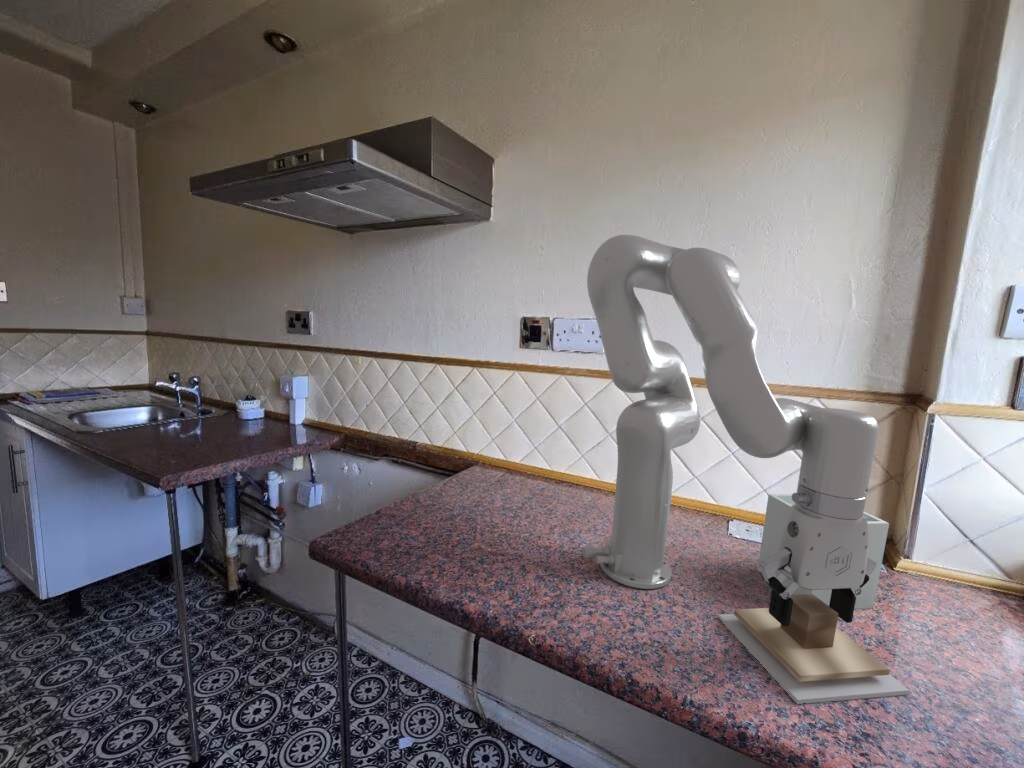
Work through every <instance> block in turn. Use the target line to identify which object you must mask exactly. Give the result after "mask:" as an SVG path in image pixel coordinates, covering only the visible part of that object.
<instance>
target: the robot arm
mask: <svg viewBox="0 0 1024 768" xmlns="http://www.w3.org/2000/svg"><path fill="white" fill-rule="evenodd" d="M740 281H741V275H740V269H739V268H738V266H737V264H736V263H735V261H734V260H733V259H732V258H730V257H728V256H726V255H725V254H722V253H719V252H716V251H714V250H711V249H709V248H704V247H690V248H687V249H685V248H681V247H676V246H672V245H671V246H670V245H666V244H663V243H660V242H657V241H653V240H650V239H647V238H645V237H641V236H638V235H633V234H618V235H615V236H612V237H610V238H608V239H606V240H605V241H604V242H602V244H601V245H599V247H598V248H597V250H596V251H595V253H594V255H593V256H592V258H591V261H590V262H589V266H588V270H587V278H586V282H587V283H586V285H587V286H586V287H587V293H588V297H589V301H590V305H591V307H592V311H593V314H594V316H595V319H596V323H597V327H598V329H599V335H600V339H601V343H602V346H603V351H604V354H605V357H606V361H607V367H608V371H609V374H610V377H611V380H612V382H613V384H614V385H615V387H617V389H619V391H622V392H623V393H627V394H628V393H629V394H640V393H643V394H644V398H645V399H640V400H636V401H635V402H632V403H630V404H629V405H627V406H626V407H625V408H624V409H623V410H622V411H621V413H620V415H619V416H618V420H617V421H616V427H615V432H616V434H615V435H616V446H617V447H616V448H617V469H616V471H617V472H616V482H615V493H614V503H613V515H612V524H611V525H612V526H611V533H610V539H605V541H604V542H605V543H604V544H601V545H599V546H598V547H596V546H585V547H584V549H583V554H584V558H585V559H594V561H595V564H596V565H599V566H600V568H601V570H602V571H603V572H604V574H605V575H606V576H608V577H609V578H610V579H612V580H613V581H615V582H618V583H619V584H621V585H624V586H627V587H631V588H634V589H644V590H655V589H658V588H659V589H660V588H662V587H665V586H666V585H668V584H669V583H670V582H671V579H672V572H673V571H672V567H671V566H670V565H669V563H668V562H666V560H665V554H666V552H665V551H666V545H667V536H668V526H669V518H670V510H671V500H672V490H673V481H674V480H673V479H674V476H673V473H674V472H673V471H674V470H673V464H672V458H671V457H672V456H671V453H672V452H671V451H672V450H673V449H675V448H678V447H682V446H684V445H686V444H688V443H690V442H691V441H692V440H694V439H695V437H696V436H697V434H698V433H699V429H700V426H701V417H700V411H699V407H698V404H697V400H696V397H695V394H694V389H693V385H692V383H691V379H690V375H689V371H688V369H687V366H686V363H685V362H686V361H685V360H684V358H683V356H682V354H681V353H680V352H679V350H678V349H677V348H676V347H675V346H673V345H672V344H671V343H669V342H666V341H664V340H663V341H662V340H658V339H657V340H656V339H655V340H654V338H653V336H652V333H651V331H650V330H651V329H650V327H649V324H648V320H647V315H646V312H645V310H644V308H643V305H642V304H641V303H640V301H639V299H638V298H637V296H636V294H635V291H634V288H636V289H641V290H648V291H651V292H657V293H662V294H665V295H668V296H672V298H673V300H674V301H675V304H676V306H677V307H678V309H679V311H680V313H681V314H682V316H683V318H684V320H685V322H686V324H687V326H688V328H689V330H690V332H691V334H692V336H693V338H694V340H695V342H696V343H697V346H698V347H699V350H700V352H701V356H702V357H701V360H702V363H701V364H702V368H703V373H704V379H705V384H706V389H707V393H708V394H709V397H710V400H711V402H712V405H713V407H714V409H715V411H716V412H717V415H718V416H719V419H720V420H721V422H722V424H723V426H724V429H725V430H726V432H727V434H728V435H729V436H730V438H731V440H732V441H733V442H734V443H735V445H736V446H737V447H738V448H739V449H740V450H742V451H743V452H745V453H746V454H747V455H749V456H751V457H755V458H760V459H771V458H775V457H778V456H781V455H782V454H785V453H787V452H790V451H791V452H792V451H801V452H802V454H801V455H802V456H801V462H800V470H799V475H798V482H797V489H796V492H793V493H791V494H792V500H793V502H795V505H792V507H791V509H790V511H789V514H788V517H787V519H786V522H785V525H784V529H783V532H782V536H781V540H780V545H779V550H778V552H777V553H775V554H773V555H771V556H769V557H767V558H766V559H764V560H762V561H760V562H759V561H758V563H759V567H760V570H761V573H762V574H761V573H760V574H761V575H762V579H763V581H764V582H765V583H766V584H767V586H768V587H769V588H770V589H771V592H770V600H769V605H768V606H769V607H768V608H769V613H770V614H771V615H772V616H773V617H774V618H775V619H776V620H777V621H778V622H779V623H781V624H782V625H783V626H789V624H790V618H791V612H792V606H793V600H792V599H791V598H790V596H791V595H792V594H793V593H794V592H795V590H796V589H797V588H798V587H799V586H800V587H801V588H803V589H806V590H823V589H832V592H831V598H830V603H829V607H830V608H832V609H833V610H834V611H836V612H837V613H838V618H840V619H841V620H842V621H843V622H845V623H846V624H848V623H852V622H853V617H854V611H855V609H854V607H855V602H856V597H855V596H859V595H860V594H861V592H862V590H861V588H862V587H863V586H864V585H865V584H866V583H867V582H868V581H869V575H871V573H872V572H873V570H874V569H875V567H876V562H874V561H872V560H871V559H869V558H867V555H868V523H867V517H866V516H865V515H863V512H865V506H866V499H867V495H868V491H869V490H868V489H869V484H870V477H871V474H872V473H871V472H872V467H873V461H874V456H875V450H876V445H877V441H878V440H877V439H878V435H879V424H878V421H877V420H876V418H874V417H873V416H872V415H869V414H866V413H863V412H860V411H854V410H849V409H844V408H833V407H831V408H829V407H821V406H816V405H812V404H809V403H805V402H803V401H799V400H795V399H790V398H786V397H785V398H784V397H778V398H775V397H774V395H773V393H772V392H771V390H770V388H769V386H768V385H767V382H766V380H765V378H764V376H763V374H762V372H761V369H760V366H759V363H758V360H757V355H756V345H757V340H758V336H759V328H758V325H757V321H756V320H755V318H754V316H753V315H752V314H751V312H750V310H749V308H748V307H747V305H746V303H745V302H744V300H743V298H742V296H741V294H740V293H739V289H738V288H740V287H739V286H740V283H741V282H740ZM777 569H778V570H779V571H778V572H777V573H776V574H775V571H776V570H777ZM791 573H792V574H791ZM786 578H788V579H790V581H789V582H788V583H787V584H786V585H785V586H783V585H782V584H781V583H782V582H783V581H784V580H785V579H786Z"/></svg>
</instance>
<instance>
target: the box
mask: <svg viewBox="0 0 1024 768" xmlns="http://www.w3.org/2000/svg"><path fill="white" fill-rule="evenodd" d="M792 494H793V493H787V494H785V493H783V494H782V493H780V494H777V493H775V494H772V493H771V494H768V497H767V503H766V511H765V517H764V523H763V531H762V537H761V545H760V551H759V557H758V565H757V572H759V573H760V572H761V570H760V567H759V562H760V561H762V560H764V559H766V558H767V557H769V556H771V555H773V554H775V553H777V552H778V550H779V545H780V540H781V536H782V532H783V529H784V525H785V522H786V519H787V517H788V514H789V511H790V509H791V507H792V505H795V502H793V500H792ZM863 515H865V516H866V517H867V523H868V555H867V558H869V559H871V560H872V561H874V562H876V567H875V569H874V570H873V572H872V573H871V575H869V581H868V582H867V583H866V584H865V585H864V586H863V587H862V588H861V590H862V592H861V594H860V595H859V596H855V597H856V602H855V607H854V610H864V609H865V610H866V609H867V610H869V609H874V606H875V600H876V596H877V590H878V586H879V579H880V576H881V575H880V574H881V569H882V563H883V560H884V559H883V558H884V553H885V548H886V543H887V538H888V532H889V527H890V523H889V522H887V521H885V520H883V519H881V518H879V517H877V516H875V515H872V514H870V513H868V512H866V511H864V512H863ZM778 571H779V570H778V569H777V570H776V571H775V574H776V573H777V572H778ZM791 574H792V573H791ZM789 581H790V579H788V578H786V579H785V580H784V581H783V582H782V583H781V584H782V585H783V586H785V585H786V584H787V583H788V582H789ZM831 592H832V589H823V590H806V589H803V588H801V587H800V586H799V587H798V588H797V589H796V590H795V592H794V593H793V594H792V595H802V594H813V595H814V596H816V597H817V598H818V599H820V600H821V601H822V602H824V603H825V604H826V605H828V606H829V603H830V598H831Z"/></svg>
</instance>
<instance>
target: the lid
mask: <svg viewBox="0 0 1024 768" xmlns="http://www.w3.org/2000/svg"><path fill="white" fill-rule="evenodd" d="M790 598H791V599H792V600H793V606H792V612H791V618H790V624H789V626H783V625H782V624H781V623H779V622H778V621H777V620H776V619H775V618H774V617H773V616H772V615H771V614H770V613H769V607H762V608H761V607H759V608H758V607H757V608H738V609H737V608H736V609H734V610H733V614H734V615H735V616H736V617H737V618H738V619H739V620H740V621H741V622H742V623H743V624H744V625H745V626H746V627H747V628H748V629H749V630H750V631H751V632H752V634H753V635H754V636H755V637H756V638H757V639H758V640H759V641H760V642H761V643H762V644H763V645H764V646H765V647H766V648H767V649H768V650H769V651H770V652H771V653H772V654H773V655H774V656H775V657H776V658H777V659H778V660H779V661H780V662H781V663H782V664H783V665H784V666H785V667H786V668H787V669H788V670H789V671H790V672H791V673H792V674H793V676H794V677H795V678H796V679H797V680H798V681H799V682H803V681H816V680H829V679H842V678H855V677H868V676H881V675H889V674H890V670H891V669H890V668H889V667H888V666H887V665H885V664H884V663H883V662H881V661H880V660H879V659H877V658H876V656H873V654H871V653H870V652H869V651H867V650H866V649H865V648H864V647H862V646H861V645H860V644H859V643H858V642H856V641H855V640H853V639H852V638H851V637H849V636H848V635H847V634H846V633H844V632H843V631H842V630H841V629H840V628H838V627H837V624H838V618H839V617H838V613H837V612H836V611H834V610H833V609H832V608H830V607H829V606H828V605H826V604H825V603H824V602H822V601H821V600H820V599H818V598H817V597H816V596H814V595H813V594H802V595H791V596H790Z"/></svg>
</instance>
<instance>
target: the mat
mask: <svg viewBox="0 0 1024 768" xmlns="http://www.w3.org/2000/svg"><path fill="white" fill-rule="evenodd" d="M717 618H719V619H720V620H721V621H722V622H723V623H722V622H721V621H720V620H719V621H720V622H721V623H722V624H723V625H724V624H725V625H724V626H725V627H726V629H727V630H728V631H729V630H730V631H731V632H730V631H729V632H730V633H731V634H732V633H733V634H732V635H733V636H734V635H735V636H734V637H735V638H736V639H737V641H739V643H740V642H741V643H742V644H743V645H744V646H745V647H746V648H745V647H744V646H743V645H742V644H741V643H740V644H741V645H742V646H743V647H744V648H745V649H746V650H747V649H748V650H747V652H749V654H750V655H751V654H752V655H753V656H754V657H755V658H756V659H757V660H758V661H759V662H760V663H759V662H758V661H757V660H756V659H755V658H754V657H753V656H752V655H751V656H752V657H753V658H754V659H755V660H756V661H757V662H758V663H759V664H760V665H761V664H762V665H761V667H762V666H763V667H764V668H765V669H766V670H767V671H768V672H767V671H766V670H765V669H764V668H763V667H762V668H763V669H764V670H765V671H766V672H767V673H768V674H769V673H770V674H769V675H770V676H771V675H772V676H771V678H772V679H773V678H774V679H775V680H776V681H777V682H778V683H779V684H778V683H777V682H776V681H775V680H774V679H773V680H774V681H775V682H776V683H777V684H778V685H779V686H780V688H781V689H782V690H783V691H784V690H785V691H786V692H787V693H788V694H789V695H788V694H787V693H786V692H785V691H784V692H785V693H786V694H787V695H788V696H789V697H790V698H791V699H792V700H793V702H794V703H795V702H796V703H797V704H796V705H804V704H803V703H806V704H816V703H826V702H839V701H849V700H861V699H872V698H874V699H875V698H882V697H883V698H885V697H893V696H894V697H897V696H908V695H909V694H910V689H909V688H907V687H906V686H905V685H904V684H902V683H901V682H900V681H899V680H898V679H896V678H895V677H894V676H893V675H891V674H890V673H889V675H881V676H868V677H855V678H842V679H829V680H816V681H803V682H799V681H798V680H797V679H796V678H795V677H794V676H793V674H792V673H791V672H790V671H789V670H788V669H787V668H786V667H785V666H784V665H783V664H782V663H781V662H780V661H779V660H778V659H777V658H776V657H775V656H774V655H773V654H772V653H771V652H770V651H769V650H768V649H767V648H766V647H765V646H764V645H763V644H762V643H761V642H760V641H759V640H758V639H757V638H756V637H755V636H754V635H753V634H752V632H751V631H750V630H749V629H748V628H747V627H746V626H745V625H744V624H743V623H742V622H741V621H740V620H739V619H738V618H737V617H736V616H735V615H734V613H724V614H723V613H722V614H721V613H720V614H718V615H717Z"/></svg>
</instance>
